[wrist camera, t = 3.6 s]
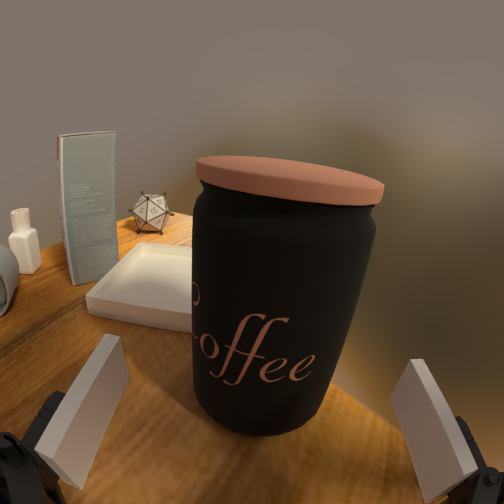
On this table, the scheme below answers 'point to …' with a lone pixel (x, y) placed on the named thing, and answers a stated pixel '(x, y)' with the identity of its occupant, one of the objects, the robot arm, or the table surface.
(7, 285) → the ceramic mug
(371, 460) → the table surface
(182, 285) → the tray
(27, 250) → the pepper shaker
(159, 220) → the game die
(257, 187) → the coffee jar
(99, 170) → the hard drive box
